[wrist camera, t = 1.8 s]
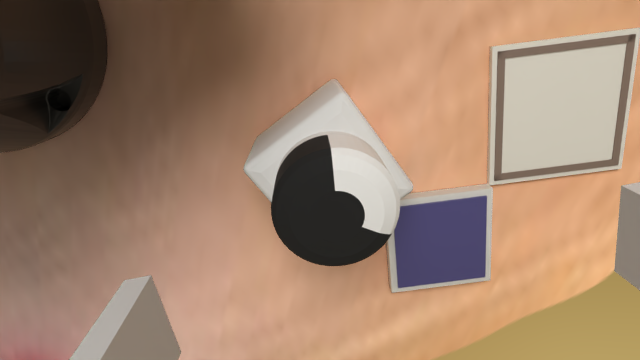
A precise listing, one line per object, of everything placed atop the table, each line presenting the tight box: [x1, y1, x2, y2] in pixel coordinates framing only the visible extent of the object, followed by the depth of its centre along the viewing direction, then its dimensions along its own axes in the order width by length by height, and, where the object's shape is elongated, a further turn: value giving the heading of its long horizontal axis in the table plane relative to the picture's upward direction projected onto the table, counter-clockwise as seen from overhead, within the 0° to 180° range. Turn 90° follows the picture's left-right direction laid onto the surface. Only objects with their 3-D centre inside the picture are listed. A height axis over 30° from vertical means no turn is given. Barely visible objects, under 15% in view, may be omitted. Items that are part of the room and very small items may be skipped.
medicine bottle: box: [244, 79, 413, 266], centre depth 24 cm, size 7×7×12 cm
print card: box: [487, 28, 640, 185], centre depth 29 cm, size 10×10×1 cm
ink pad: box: [386, 184, 493, 293], centre depth 32 cm, size 8×8×1 cm
